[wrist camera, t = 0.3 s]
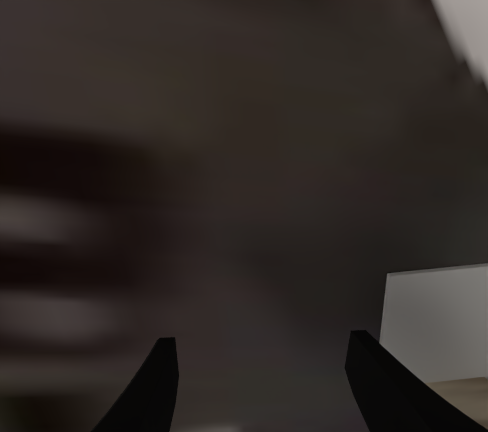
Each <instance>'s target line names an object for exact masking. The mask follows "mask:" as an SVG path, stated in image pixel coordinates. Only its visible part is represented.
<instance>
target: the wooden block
mask: <svg viewBox="0 0 488 432" xmlns="http://www.w3.org/2000/svg"><path fill="white" fill-rule="evenodd" d="M425 384H426V385H427V386H429V387H430V388H431V389H432V390H434V391H435V392H436V393H437V394H439V395H440V396H441V397H442V398H444V399H445V400H446V401H448V402H449V403H450V404H452V405H453V406H455V407H456V408H457V409H459V410H460V411H462V412H463V413H464V414H466V415H467V416H468V417H470V418H471V419H473V420H474V421H476V422H477V423H479V424H480V425H482V426H483V427H485V428H486V429H488V380H487V379H486V378H485V377H477V378H468V379H459V380H449V381H440V382H431V383H425Z"/></svg>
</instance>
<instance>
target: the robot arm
mask: <svg viewBox="0 0 488 432" xmlns="http://www.w3.org/2000/svg"><path fill="white" fill-rule="evenodd" d="M345 370H346V374H347V377H348V380H349V383H350V386H351V389H352V392H353V395H354V397H355V400H356V402H357V404H358V406H359V409H360V411H361V413H362V415H363V418H364V420H365V422H366V424H367V426H368V429H369V431H370V432H488V429H486V428H485V427H483V426H482V425H480V424H479V423H477V422H476V421H474V420H473V419H471V418H470V417H468V416H467V415H466V414H464V413H463V412H462V411H460V410H459V409H457V408H456V407H455V406H453V405H452V404H450V403H449V402H448V401H446V400H445V399H444V398H442V397H441V396H440V395H439V394H437V393H436V392H435V391H434V390H432V389H431V388H430V387H429V386H427V385H426V384H425V383H424V382H422V381H421V380H420V379H419V378H418V377H417V376H415V375H414V374H413V373H412V372H411V371H410V370H408V369H407V368H406V367H405V366H404V365H403V364H402V363H400V362H399V361H398V360H397V359H396V358H395V357H394V356H393V355H392V354H391V353H390V352H388V351H387V350H386V349H385V348H384V347H383V346H382V345H381V344H380V343H379V342H378V341H377V340H376V339H374V338H373V337H372V336H371V335H370V334H369V333H368V332H367V331H366V330H358V331H351V334H350V339H349V345H348V351H347V357H346V363H345ZM178 379H179V371H178V361H177V352H176V342H175V337H170V338H159V339H158V340H157V341H156V343H155V345H154V347H153V348H152V350H151V352H150V353H149V355H148V356H147V358H146V360H145V361H144V363H143V364H142V366H141V367H140V369H139V370H138V372H137V373H136V375H135V376H134V377H133V379H132V380H131V382H130V383H129V385H128V386H127V387H126V389H125V390H124V391H123V393H122V394H121V395H120V397H119V398H118V399H117V400H116V402H115V403H114V404H113V406H112V407H111V408H110V409H109V411H108V412H107V413H106V414H105V416H104V417H103V418H102V419H101V420H100V421H99V423H98V424H97V425H96V426H95V427H94V428H93V429H92V431H91V432H169V431H170V426H171V422H172V417H173V412H174V408H175V403H176V396H177V388H178Z"/></svg>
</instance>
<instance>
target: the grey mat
mask: <svg viewBox="0 0 488 432" xmlns="http://www.w3.org/2000/svg"><path fill="white" fill-rule="evenodd" d="M379 343H380V344H381V345H382V346H383V347H384V348H385V349H386V350H387V351H388V352H390V353H391V354H392V355H393V356H394V357H395V358H396V359H397V360H398V361H399V362H400V363H402V364H403V365H404V366H405V367H406V368H407V369H408V370H410V371H411V372H412V373H413V374H414V375H415V376H417V377H418V378H419V379H420V380H421V381H422V382H424V383H431V382H440V381H449V380H459V379H468V378H477V377H485V378H486V379H487V380H488V263H485V264H475V265H465V266H455V267H445V268H435V269H425V270H415V271H405V272H395V273H387V280H386V289H385V298H384V307H383V316H382V325H381V334H380V342H379ZM369 432H370V431H369Z"/></svg>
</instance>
